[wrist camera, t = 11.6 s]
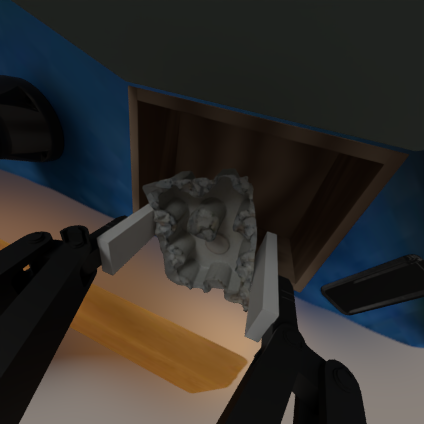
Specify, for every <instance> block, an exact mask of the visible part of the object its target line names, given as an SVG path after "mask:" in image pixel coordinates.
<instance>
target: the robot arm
mask: <svg viewBox="0 0 424 424" xmlns="http://www.w3.org/2000/svg"><path fill="white" fill-rule="evenodd" d="M63 147H64V140H63V133H62V129H61V126H60V123H59V121H58V118H57V116H56V114H55V112H54V110H53V108H52V107H51V105H50V104H49V102H48V101H47V99H46V98H45V97H44V96H43V95H42V93H41V92H40V91H39V90H38V89H37V88H36V87H34V86H33V85H32V84H31V83H29V82H28V81H26V80H24V79H21V78H17V77H11V76H5V75H0V159H7V160H18V161H29V162H48V161H53V160H56V159H58V158H59V157H60V156H61V154H62V152H63ZM153 219H154V210H153V208H152V207H151V206H150V204H147V205H146V206H144V207H143V208H141V209H140V210H138V211H137V212H135V213H134V214H132V215H131V216H129V217H127V216H125V215H124V216H121V217H118V218H116V219H114V220H113V221H111V222H110V223H108V224H106V226H103V227H101V228H100V229H98V230H96V231H95V232H93V233H92V234H90V235H89V231H88V229H87V228H86V227H85V226H81V225H78V226H70V227H67V228H64V229H63V230H61V231H60V234H61V237H62V240H63V241H62V240H53V239H52V236H51V234H50V233H48V232H35V233H31V234H28V235H26V236H24V237H22V238H20V239H19V240H17V241H15V242H14V243H12V244H10V245H9V246H7V247H5V248H4V249H2V250H0V424H19V422H20V420H21V418H22V417H23V415H24V413H25V411H26V409H27V407H28V405H29V403H30V401H31V399H32V397H33V395H34V393H35V391H36V390H37V388H38V386H39V384H40V382H41V380H42V378H43V376H44V374H45V372H46V370H47V368H48V366H49V364H50V363H51V361H52V359H53V357H54V355H55V353H56V351H57V349H58V347H59V345H60V343H61V341H62V339H63V338H64V336H65V334H66V332H67V330H68V328H69V326H70V324H71V322H72V320H73V318H74V316H75V315H76V313H77V311H78V309H79V307H80V305H81V303H82V301H83V299H84V297H85V295H86V293H87V291H88V289H89V288H90V286H91V284H92V282H93V280H94V278H95V276H96V274H97V268H98V267H99V266H101V265H102V269H103V271H104V272H106V273H108V274H111V275H114V274H115V273H116V272H117V271H118V270H119V269H120V268H121V267H122V266H123V265H124V264H125V263H126V262H127V261H128V260H130V258H132V256H134V255H135V254H136V253H137V252H138V251H139V250H140V249H141V248H142V247H143V246H144V245H145V244H146V243H147V242H148V241H149V240H150V239H151V238H152V237H153V236H154V235H156V234H155V229H156V222H155V221H154V220H153ZM28 264H29V266H30V268H29V269H28V270H26V271H24V270H23V268H24V267H26V266H27V265H28ZM294 302H295V299H294V290H293V286H292V284H291V282H290V280H289V279H288V278H285V277H283V276H280V275H278V261H277V235H276V234H273V233H270V232H268V231H267V233H266V235H265V237H264V239H263V241H262V243H261V245H260V247H259V250H258V252H257V254H256V256H255V263H254V271H253V278H252V285H251V293H250V300H249V307H248V315H247V323H246V329H245V337H247V338H249V339H252V340H254V341H256V342H259V341H260V340H261V338H262V345H261V348H260V350H259V351H258V352H257V353H256V354H255V356H254V357H255V358H254V360H253V361H252V363H251V365H250V366H249V368H248V370H247V372H246V373H245V375H244V377H243V378H242V380H241V382H240V384H239V385H238V387H237V389H236V391H235V392H234V394H233V396H232V398H231V399H230V401H229V403H228V404H227V406H226V408H225V410H224V412H223V413H222V415H221V416H220V418H219V420H218V422H217V423H216V424H281V421H282V418H283V415H284V412H285V409H286V406H287V403H288V401H289V398H290V395H291V392H293V393H294V394H295V405H294V417H293V418H294V419H293V424H367V423H366V417H365V411H364V406H363V400H362V394H361V390H360V387H359V384H358V382H357V380H356V379H355V377H354V375H353V374H352V373H351V372H350V371H349V369H348V368H347V367H346V366H345V365H343V364H342V363H341V362H339V361H336V360H328V361H325V360H324V359H323V358H322V357H320V356H319V355H318V354H316V353H315V352H314V351H313V350H311V349H310V348H309V347H308V346H307V345H306V343H305V340H304V338H303V337H302V335H301V333H300V332H299V330H298V325H297V317H296V307H295V303H294Z"/></svg>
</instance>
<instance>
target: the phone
mask: <svg viewBox="0 0 424 424" xmlns="http://www.w3.org/2000/svg"><path fill="white" fill-rule="evenodd" d="M321 292H322V294H323V295H324V296H325V297H326V298H327V299H328V300H329V301H330V302H331V303H332V304H333V305H334V306H335V307H336V308H337V309H338V310H339V311H340V312H341V313H343V314H345V315H354V314H358V313H362V312H366V311H370V310H374V309H378V308H382V307H386V306H390V305H394V304H398V303H402V302H406V301H409V300H413V299H417V298H421V297H424V260H423V259H422V258H421V257H419V256H418V255H413V254H411V255H406V256H403V257H400V258H398V259H395V260H392V261H389V262H387V263H384V264H381V265H379V266H376V267H373V268H370V269H368V270H365V271H362V272H360V273H357V274H354V275H351V276H349V277H346V278H343V279H341V280H338V281H335V282H332V283H330V284H327V285H324V286H322V287H321Z"/></svg>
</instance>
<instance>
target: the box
mask: <svg viewBox="0 0 424 424" xmlns="http://www.w3.org/2000/svg"><path fill="white" fill-rule="evenodd" d="M128 95H129V121H130V146H131V172H132V198H133V214H134V213H135V212H137V211H138V210H140V209H141V208H143V207H144V206H146V205H147V204H149V201H148V199H147V197H146V195H145V193H144V191H143V189H142V188H143V185H147V184H150V183H153V182H157V181H161V180H164V179H169V178H171V177H173V176H175V175H176V174H179V173H180V172H182V171H192V172H193V174H194V176H195V177H196V178H202V177H203V178H207V179H209V180H214V178H215V177H216V176H217V175H218V174H219V173H220V172H221V171H222V169H236V171H237V172H238V174H239V176H240V177H245V176H248V182H249V183H251V184H252V186H253V189H254V190H253V203H254V208H255V217H256V226H257V243H256V250H255V256H256V254H257V252H258V250H259V247H260V245H261V243H262V241H263V239H264V237H265V235H266V233H267V231H268V232H270V233H273V234H276V235H277V261H278V275H280V276H283V277H285V278H288V279H289V280H290V282H291V284H292V286H293V290H295V291H298V292H301V291H302V290H303V288H304V287H305V286H306V285H307V283H308V282H309V281H310V280H311V278H312V277H313V276H314V274H315V273H316V272H317V271H318V269H319V268H320V267H321V266H322V264H323V263H324V262H325V261H326V259H327V258H328V257H329V256H330V254H331V253H332V252H333V250H334V249H335V248H336V247H337V245H338V244H339V243H340V242H341V240H342V239H343V238H344V237H345V235H346V234H347V233H348V232H349V230H350V229H351V228H352V226H353V225H354V224H355V223H356V221H357V220H358V219H359V218H360V216H361V215H362V214H363V213H364V211H365V210H366V209H367V208H368V206H369V205H370V204H371V202H372V201H373V200H374V199H375V197H376V196H377V195H378V194H379V192H380V191H381V190H382V189H383V187H384V186H385V185H386V184H387V182H388V181H389V180H390V178H391V177H392V176H393V175H394V173H395V172H396V171H397V170H398V168H399V167H400V166H401V165H402V163H403V162H404V161H405V160H406V158H407V157H408V156H409V154H405V153H401V152H397V151H393V150H389V149H385V148H381V147H377V146H373V145H369V144H365V143H361V142H357V141H353V140H349V139H345V138H341V137H337V136H333V135H329V134H325V133H320V132H316V131H312V130H308V129H304V128H300V127H296V126H292V125H288V124H284V123H280V122H276V121H272V120H267V119H263V118H259V117H255V116H251V115H247V114H243V113H239V112H235V111H231V110H227V109H223V108H219V107H214V106H210V105H206V104H202V103H198V102H194V101H190V100H186V99H182V98H178V97H174V96H169V95H165V94H161V93H157V92H153V91H149V90H144V89H140V88H136V87H132V86H128ZM254 263H255V258H254Z"/></svg>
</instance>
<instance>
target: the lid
mask: <svg viewBox="0 0 424 424" xmlns="http://www.w3.org/2000/svg"><path fill="white" fill-rule="evenodd" d="M12 1H13V2H15V3H16V4H17V5H19V6H20V7H22V8H23V9H24V10H26V11H27V12H29V13H30V14H31V15H33V16H34V17H36V18H37V19H39V20H40V21H41V22H43V23H44V24H46V25H47V26H48V27H50V28H51V29H53V30H54V31H56V32H57V33H58V34H60V35H61V36H63V37H64V38H65V39H67V40H68V41H70V42H71V43H72V44H74V45H75V46H77V47H78V48H80V49H81V50H82V51H84V52H85V53H87V54H88V55H89V56H91V57H92V58H94V59H95V60H97V61H98V62H99V63H101V64H102V65H104V66H105V67H106V68H108V69H109V70H111V71H112V72H114V73H115V74H116V75H118V76H119V77H121V78H122V79H123V80H125V81H127V82H132V83H136V84H140V85H144V86H148V87H152V88H156V89H161V90H165V91H169V92H173V93H177V94H181V95H185V96H190V97H194V98H198V99H202V100H206V101H210V102H214V103H219V104H223V105H227V106H231V107H235V108H239V109H243V110H248V111H252V112H256V113H260V114H264V115H268V116H272V117H277V118H281V119H285V120H289V121H293V122H297V123H301V124H306V125H310V126H314V127H318V128H322V129H326V130H330V131H335V132H339V133H343V134H347V135H351V136H355V137H359V138H364V139H368V140H372V141H376V142H380V143H384V144H388V145H392V146H397V147H401V148H405V149H409V150H413V151H420V150H424V0H12Z"/></svg>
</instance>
